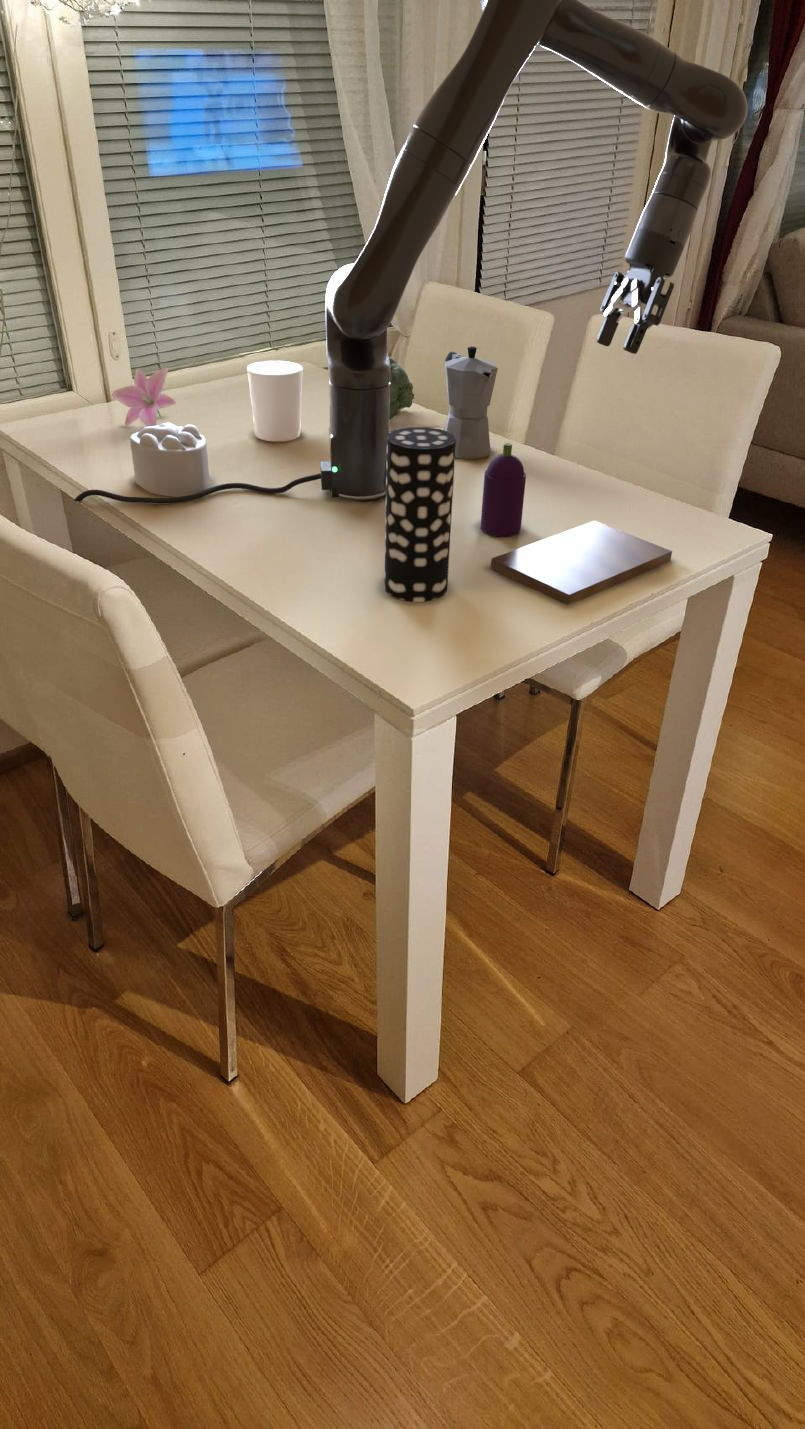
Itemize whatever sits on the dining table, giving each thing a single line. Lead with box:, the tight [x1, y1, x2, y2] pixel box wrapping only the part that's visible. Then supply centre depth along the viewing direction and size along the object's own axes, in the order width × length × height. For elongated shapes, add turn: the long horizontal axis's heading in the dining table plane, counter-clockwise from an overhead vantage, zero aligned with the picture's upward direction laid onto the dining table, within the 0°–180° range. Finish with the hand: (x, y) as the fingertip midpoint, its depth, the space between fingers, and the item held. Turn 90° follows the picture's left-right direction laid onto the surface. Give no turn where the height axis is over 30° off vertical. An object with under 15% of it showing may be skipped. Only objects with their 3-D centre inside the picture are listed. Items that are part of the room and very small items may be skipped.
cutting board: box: [490, 520, 673, 606], centre depth 136 cm, size 22×14×2 cm, turn 131°
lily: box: [111, 366, 177, 427], centre depth 182 cm, size 12×12×10 cm
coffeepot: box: [443, 345, 498, 460], centre depth 171 cm, size 15×9×18 cm, turn 25°
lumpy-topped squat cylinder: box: [129, 422, 211, 498], centre depth 156 cm, size 10×13×9 cm
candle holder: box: [246, 360, 304, 443], centre depth 177 cm, size 10×10×12 cm
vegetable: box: [389, 356, 415, 422], centre depth 188 cm, size 12×13×15 cm
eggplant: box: [479, 442, 527, 538], centre depth 143 cm, size 6×6×13 cm
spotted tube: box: [383, 426, 456, 603], centre depth 124 cm, size 8×8×20 cm
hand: (615, 348), depth 148 cm, fingers open, 8 cm apart
